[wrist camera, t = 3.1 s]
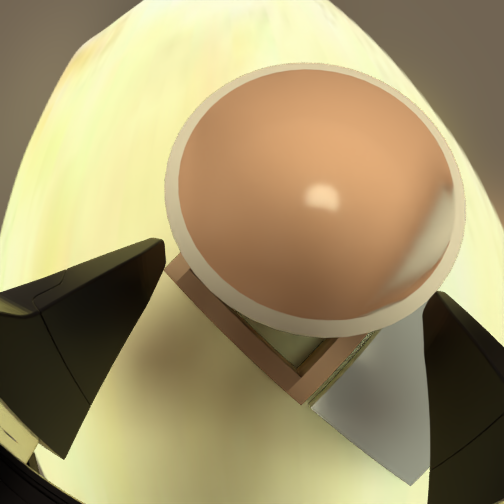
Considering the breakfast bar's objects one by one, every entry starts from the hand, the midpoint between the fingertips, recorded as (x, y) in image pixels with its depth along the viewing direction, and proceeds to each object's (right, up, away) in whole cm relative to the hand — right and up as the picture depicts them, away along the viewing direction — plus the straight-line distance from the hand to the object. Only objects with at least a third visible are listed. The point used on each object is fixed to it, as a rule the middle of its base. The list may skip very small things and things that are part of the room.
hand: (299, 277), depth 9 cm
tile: (+9, -8, +7) cm, 14 cm away
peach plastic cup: (+1, 0, +9) cm, 9 cm away
